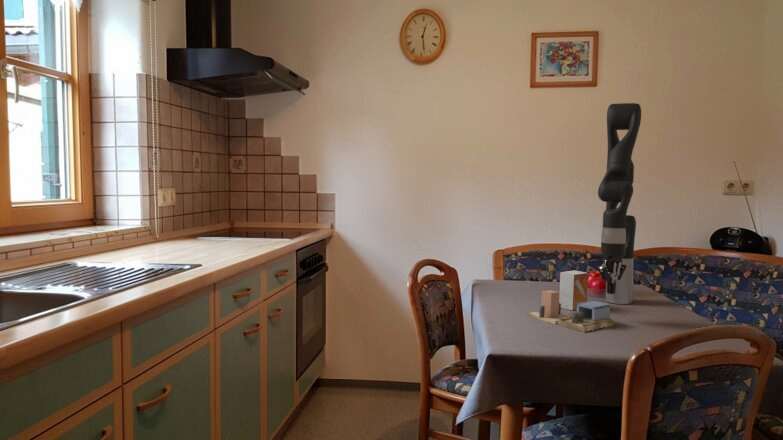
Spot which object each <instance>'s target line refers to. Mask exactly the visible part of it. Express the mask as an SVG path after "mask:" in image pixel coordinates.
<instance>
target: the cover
mask: <svg viewBox="0 0 783 440" xmlns="http://www.w3.org/2000/svg"><path fill="white" fill-rule="evenodd" d="M577 312H584V318H585V317H589V316H592V322H596V321H600V320H605V319H609V318H610V316H611V303H610V304H609V303H605V302H601V301H596V300H587V302H582V303H577V309H576V313H577ZM610 319H611V318H610Z"/></svg>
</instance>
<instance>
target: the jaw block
mask: <svg viewBox="0 0 783 440" xmlns="http://www.w3.org/2000/svg"><path fill="white" fill-rule="evenodd" d="M559 295H560V291H555V290H551V289H548V290H542V291H541V305H540V306H545V314H544V316H548V317H555V316H559Z"/></svg>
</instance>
